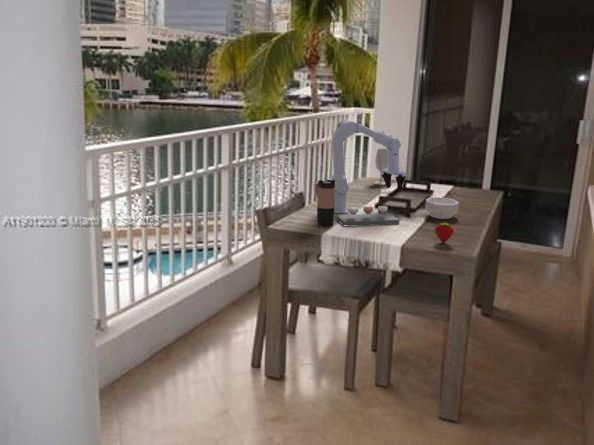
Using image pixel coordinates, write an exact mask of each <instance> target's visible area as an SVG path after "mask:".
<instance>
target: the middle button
mask: <svg viewBox="0 0 594 445" xmlns="http://www.w3.org/2000/svg"><path fill="white" fill-rule="evenodd" d="M362 211H363V212H365V213H364V214H372V213H373V212H374V207H373V206H368V205H367V206H363V210H362Z"/></svg>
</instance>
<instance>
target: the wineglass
mask: <svg viewBox="0 0 594 445" xmlns="http://www.w3.org/2000/svg"><path fill="white" fill-rule="evenodd" d="M375 168H376V169H377V170H378V172H380V175H379V176H380V177H379V180H378V181H374V182H373V184H374V185H375V186H386V184H385V181H383V177H382V174H383V173H382V169H388V165H387V148H378V149H377V151H376V154H375Z"/></svg>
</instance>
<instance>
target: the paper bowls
mask: <svg viewBox="0 0 594 445" xmlns="http://www.w3.org/2000/svg"><path fill="white" fill-rule="evenodd" d="M459 204H460V203H459V201H458V200H456V199H453V198H447V197H434V196H433V197H428V198H426V199H425V207H424V208H425V209H424V210H425V211H426V212H428V214H429V216H430V217H432V218H433V219H438V220H448V219H451V218H452V217H454V215H455V214H457V213H458V212H459Z"/></svg>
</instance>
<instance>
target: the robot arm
mask: <svg viewBox="0 0 594 445" xmlns="http://www.w3.org/2000/svg"><path fill="white" fill-rule="evenodd" d="M359 133H361V134H364V135H365V136H368V137H370V138H372V140H373V141H374V142H375V143H376V144H378V145H381V146H382V147H384V148H385V149H387V165H388V168H387V169H382V173H383V174H382V180H384V181H383V182H385V184H386V185H385V187H386V189H389V188H391V186H392V184H391V183H392V176H393V175H394V176H395V177H394V179H395V180H396V186H397V191H401V190H402V189H403V185H404V182H405V180H406V178H407V172H406V171H403V170H401V169H400V148H401V146H402V143H401V141H400V140H399V138H395V137H393V135H391V134H388V133H385V130H382V129H381V130H376V131H375V130H373V129H371V128H369V127H367V126H365V125H364V124H361V123H358V122H355V121H353V120H348V119H341V121H339V122H338V123H337V124H336V128H335V130H334V132H333V135H332V138H331V142H332V143H331V145H332V165H333V166H332V168H333V175H332V176H331V180H333V181H335V205H334V214H348V213H350V212H349V210H347V194H348V192H349V190H350V188H349V183H348V181H347V180H348V179H347V176H346V174H345V173H346V172H345V152H344V151H345V150H344V142H345V141H346V140H347V139H348V138H349V137H351V136H353V135H355V134H359Z"/></svg>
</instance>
